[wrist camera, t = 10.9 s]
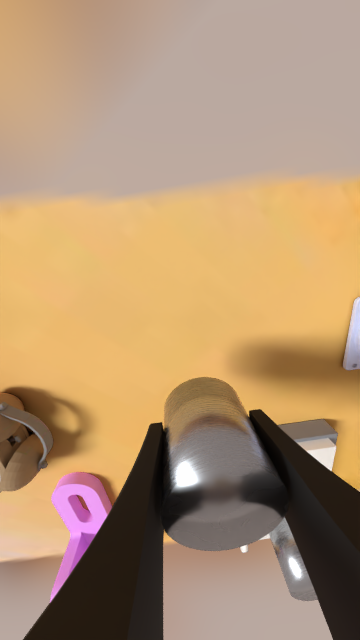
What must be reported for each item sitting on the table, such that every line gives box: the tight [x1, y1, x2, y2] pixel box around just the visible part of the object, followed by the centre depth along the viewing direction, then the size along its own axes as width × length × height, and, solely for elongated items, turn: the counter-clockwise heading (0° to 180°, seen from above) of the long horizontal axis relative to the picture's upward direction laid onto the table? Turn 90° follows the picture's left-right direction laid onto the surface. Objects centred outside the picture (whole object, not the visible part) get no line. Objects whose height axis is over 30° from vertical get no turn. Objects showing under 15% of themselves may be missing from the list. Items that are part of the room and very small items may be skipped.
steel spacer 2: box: [269, 517, 318, 601], centre depth 20 cm, size 5×5×5 cm
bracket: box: [50, 472, 112, 602], centre depth 21 cm, size 13×6×7 cm, turn 10°
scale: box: [240, 419, 338, 553], centre depth 21 cm, size 16×16×6 cm
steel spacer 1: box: [161, 377, 289, 551], centre depth 9 cm, size 5×5×5 cm
